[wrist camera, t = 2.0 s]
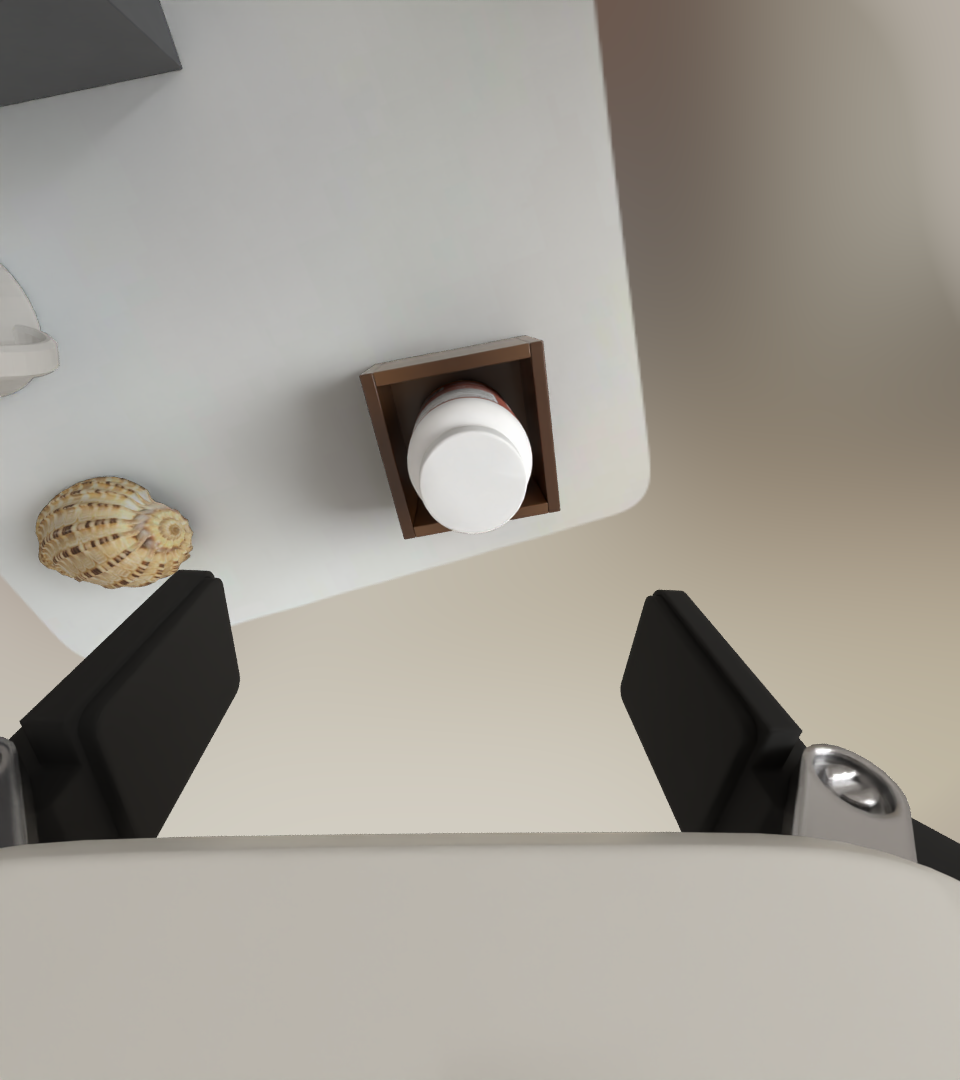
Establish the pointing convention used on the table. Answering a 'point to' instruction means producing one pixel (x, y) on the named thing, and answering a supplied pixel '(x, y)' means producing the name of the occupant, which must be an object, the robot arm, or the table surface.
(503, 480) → the pill bottle
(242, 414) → the table surface
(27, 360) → the mug
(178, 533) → the seashell
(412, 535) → the wooden box
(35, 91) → the block
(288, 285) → the table surface
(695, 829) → the robot arm
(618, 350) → the table surface
